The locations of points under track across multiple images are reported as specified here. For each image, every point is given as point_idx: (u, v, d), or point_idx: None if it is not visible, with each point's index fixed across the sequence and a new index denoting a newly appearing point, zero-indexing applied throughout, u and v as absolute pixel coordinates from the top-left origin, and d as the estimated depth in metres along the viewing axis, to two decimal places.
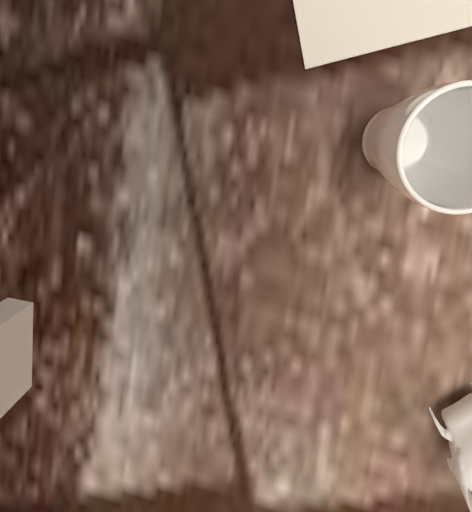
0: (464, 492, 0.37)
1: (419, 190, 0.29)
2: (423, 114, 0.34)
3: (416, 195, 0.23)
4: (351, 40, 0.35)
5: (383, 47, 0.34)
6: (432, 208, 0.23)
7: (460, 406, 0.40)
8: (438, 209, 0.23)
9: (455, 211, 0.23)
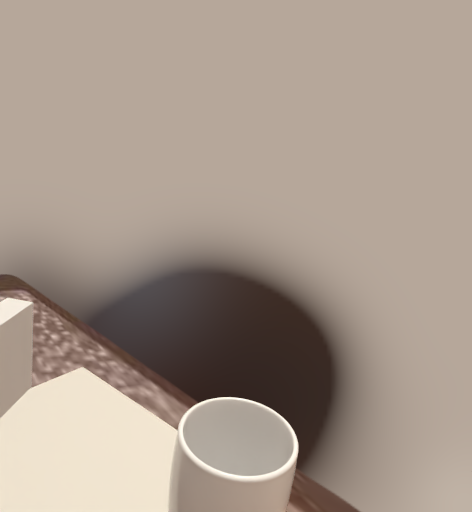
0: None
1: None
2: None
3: (237, 476, 0.21)
4: None
5: None
6: (260, 478, 0.22)
7: None
8: (265, 475, 0.22)
9: (278, 469, 0.22)
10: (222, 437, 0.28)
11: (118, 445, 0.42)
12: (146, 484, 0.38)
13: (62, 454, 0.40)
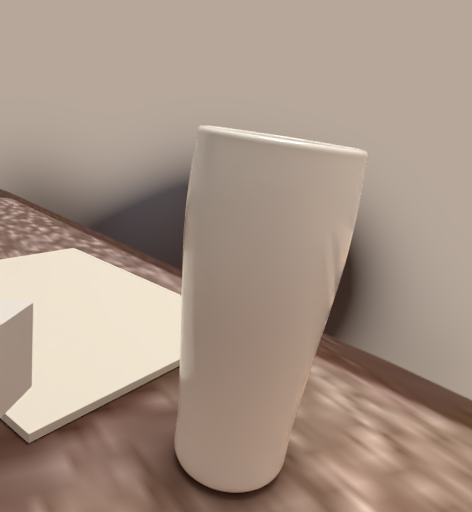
0: None
1: None
2: None
3: (290, 141, 0.14)
4: (83, 390, 0.24)
5: (129, 382, 0.25)
6: (323, 147, 0.15)
7: None
8: (330, 146, 0.15)
9: (348, 148, 0.15)
10: None
11: (115, 303, 0.35)
12: (149, 333, 0.31)
13: (47, 305, 0.33)
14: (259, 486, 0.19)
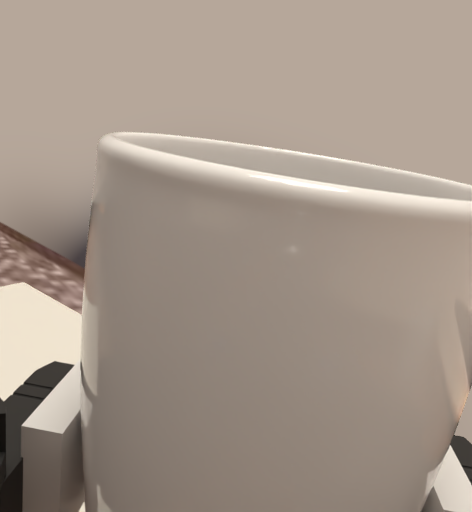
0: None
1: None
2: None
3: (337, 187, 0.05)
4: None
5: None
6: (439, 203, 0.05)
7: None
8: (456, 200, 0.05)
9: None
10: None
11: None
12: None
13: None
14: None
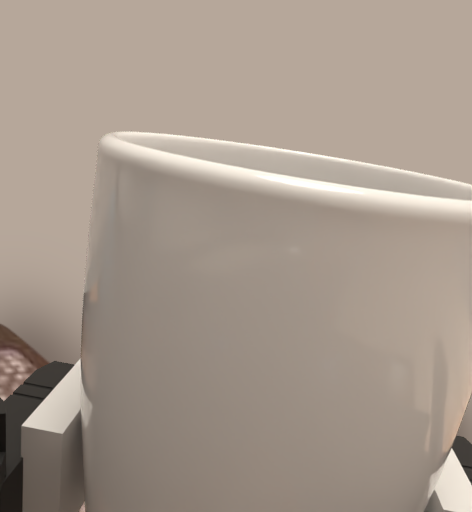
0: None
1: None
2: None
3: (340, 187, 0.05)
4: None
5: None
6: (443, 204, 0.05)
7: None
8: (459, 200, 0.05)
9: None
10: None
11: None
12: None
13: None
14: None
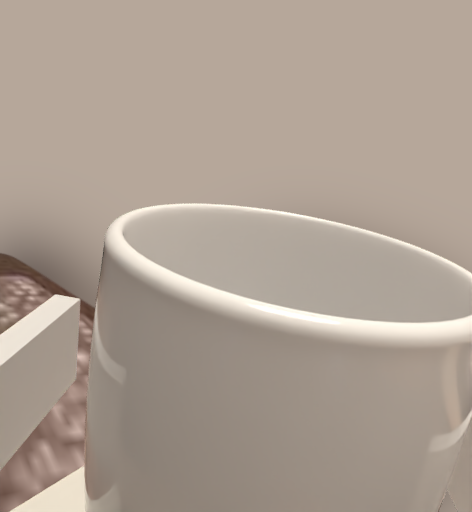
0: None
1: None
2: None
3: (328, 319, 0.05)
4: None
5: None
6: (421, 331, 0.05)
7: None
8: (437, 325, 0.05)
9: None
10: None
11: None
12: None
13: None
14: None
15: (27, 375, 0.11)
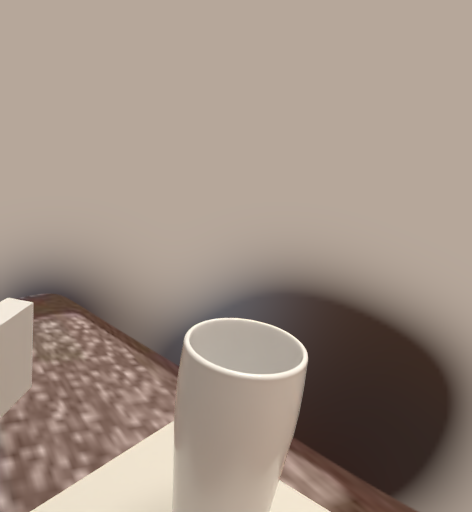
0: None
1: None
2: None
3: (246, 374, 0.21)
4: None
5: None
6: (270, 376, 0.21)
7: None
8: (275, 374, 0.21)
9: (289, 370, 0.22)
10: (228, 361, 0.27)
11: None
12: None
13: None
14: None
15: None
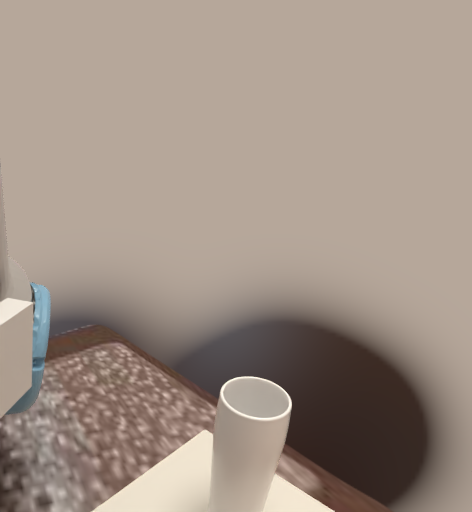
0: None
1: None
2: None
3: (256, 418, 0.38)
4: None
5: None
6: (269, 419, 0.38)
7: None
8: (272, 418, 0.38)
9: (280, 415, 0.39)
10: (244, 402, 0.45)
11: None
12: None
13: None
14: None
15: None
